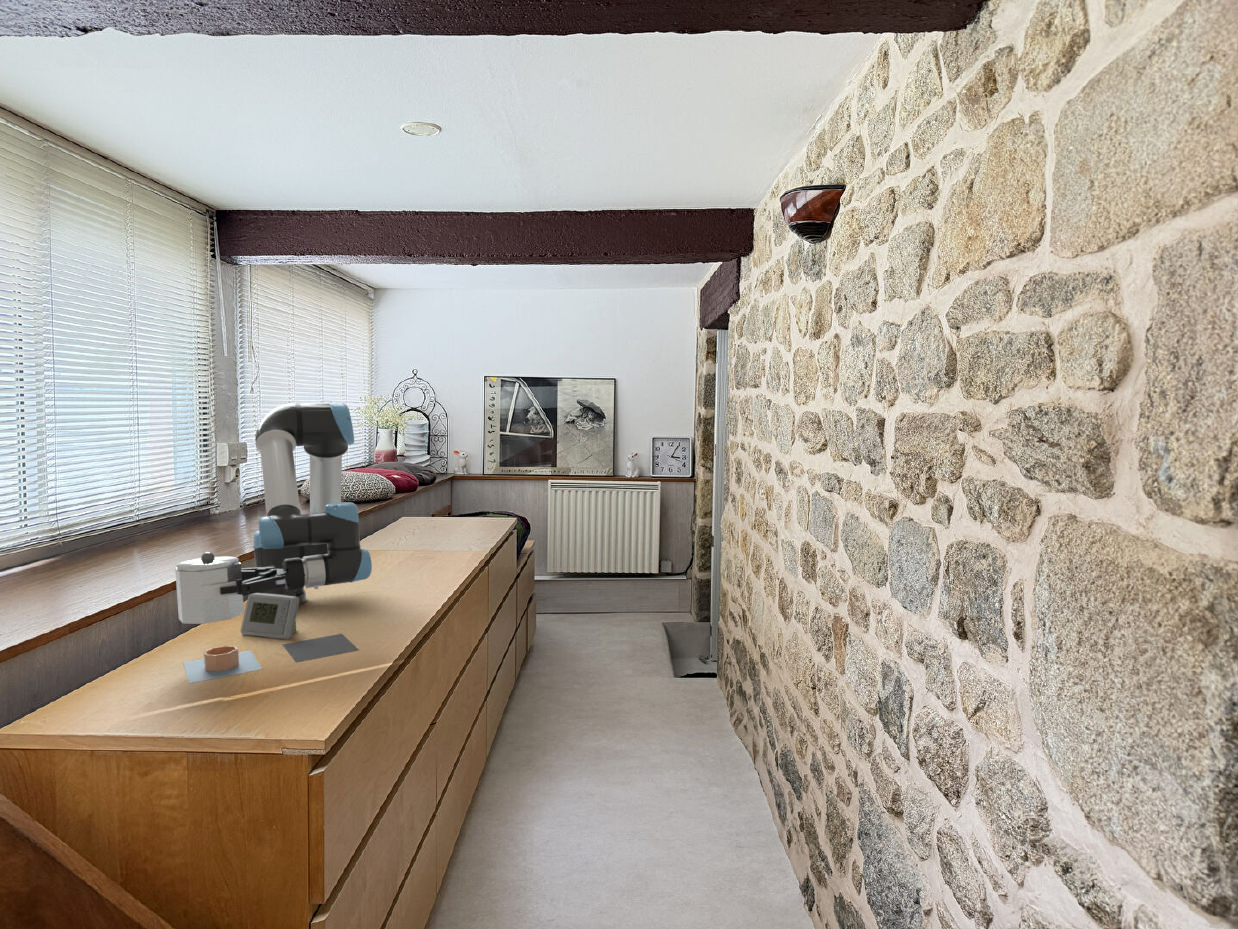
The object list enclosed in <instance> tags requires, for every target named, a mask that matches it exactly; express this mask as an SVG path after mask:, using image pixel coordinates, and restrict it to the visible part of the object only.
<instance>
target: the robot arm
mask: <svg viewBox="0 0 1238 929" xmlns="http://www.w3.org/2000/svg"><path fill="white" fill-rule="evenodd" d="M354 444H355V434H354V427H353V421H352V416H351V412H350V409H349V407H348V405H347V404H345V403H341V402H340V403H339V402H328V403H327V402H320V403H319V402H318V403H317V402H315V403H314V402H313V403H311V402H310V403H307V402H306V403H303V402H302V403H291V402H290V403H285V404H282V405H279V406H277V407H275V408H273V409H272V410H271V411H270V412H268V413H267V414H266V415H265V416H264V417H263V419H262V420H261V421H260V423H259V424H258V427H257V429H256V433H255V448H256V451H257V452H258V453H259V454H260V458H261V470H262V478H263V479H262V481H263V482H262V483H263V490H264V491H263V493H264V504H265V514H266V515H265V516H263V517H260V518H259V519H258V521H257V522H258V530H257V531H255V533H254V534H253V546H252V548H253V550H254V551H253V552H254V553H253V554H254V567H241V574H242V579H237V585H236V581H235V582H228V583H220V584H213V585H205V586H202V599H207V598H214V597H221V596H228V595H235V594H239V595H241V594H242V596H243V597H246V596H249V595H250V594H254V593H269V594H281V595H288V596H295V597H298V598H299V605H301V604H304V603H305V602H306V601H307V593H306V590H305V588H306V589H310V588H311V589H312V588H314V590H318V589H319V587H324V586H325V587H326V586H331V585H338V584H339V585H340V584H345V583H354V582H359V581H362V580H363V581H364V580H367V579H368V578H369V577H370V576H371V574H372V571H373V570H372V568H373V563H372V557H371V554H370V551H369V550H368V549H365V548H364V549H362V548H361V545H360V544H361V540H360V520H359V511H358V510H359V508H358V506H357V504H355V503H354V502H349V501H347V502H346V501H345V502H343V501H342V477H343V476H342V474H343V455H345V454H346V453H347V452H348V450H349V449H348V448H349V446H351V445H354ZM296 447H303V450H304V452H305V453H306V454H307V455H308V456H309V513H301V505H300V496H299V490H298V483H297V481H298V480H297V475H296V474H297V473H296V467H295V466H296V465H295V457H294V451H295V449H296Z"/></svg>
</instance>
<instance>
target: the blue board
mask: <svg viewBox="0 0 1238 929" xmlns="http://www.w3.org/2000/svg"><path fill="white" fill-rule="evenodd" d="M238 656H239V665H237V666H235V667H233V668H231V669H225V670H220V671H206V669H205V665H204V658H200V659H196V660H195V659H194V660H189V661H183V663H182V664H183V667H184V670H185V674H186V677H187V680H188V683H189V684H195V683H199V682H204V681H211V680H214V679H219V678H226V677H230V676H231V677H232V676H236V675H240V674H244V673H250V672H255V671H260V669H261V670H263V668H262V666H261V665H260V663H259V661H258V659H256V658H257V657H256V656H255V654H254V653H253V651H252V650H251V649H250V650H245V651H240V652H239V651H238Z"/></svg>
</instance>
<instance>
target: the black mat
mask: <svg viewBox="0 0 1238 929" xmlns="http://www.w3.org/2000/svg"><path fill="white" fill-rule="evenodd" d="M282 646H283V648H284V649H285V650H286V652H287V653H288V654H289V656H291V658H292V660H294V662H295V663H301V662H306V661H312V660H315V659H322V658H327V657H331V656H336V655H342V654H347V653H351V652H357V651H360V650H359V648H358V647H357V646H355V644H354V643H352V642H351V640H349V639H348V638H347V637H346V636H345V635H344V634H343V633H338V634H331V635H328V636H327V635H326V636H320V637H316V638H310V639H305V640H299V641H293V642H288V643H283V644H282Z"/></svg>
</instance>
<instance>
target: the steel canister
mask: <svg viewBox="0 0 1238 929" xmlns="http://www.w3.org/2000/svg"><path fill="white" fill-rule="evenodd" d="M239 560H240V558H238V557H235V556H226V555H225V556H224V555H223V556H222V555H221V556H215V555H214V553H212V552H210V551H205V552H204V553H203V554H202V555H201V557H200V558H194V559H190V560H189V559H188V560H184V561H181V562H179V563H177V564H176V567H174V569H175V581H176V582H175V584H176V598H177V599H176V600H177V612H178V620H179V621H180V622H181V623H182V624H187V625H188V624H189V625H192V624H193V625H194V624H195V625H199V624H201V625H206V624H210V623H216V622H217V623H218V622H221V621H228V620H232V619H233V618H235V617H238V616H241V615H242V614H244V612H245V608H244V596H242V594H241V595H239V594H235V595H228V596H221V597H214V598H207V599H202V586H205V585H213V584H220V583H228V582H235V581H236V585H237V579H242V574H241V568H242V564H241V562H240V561H239Z"/></svg>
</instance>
